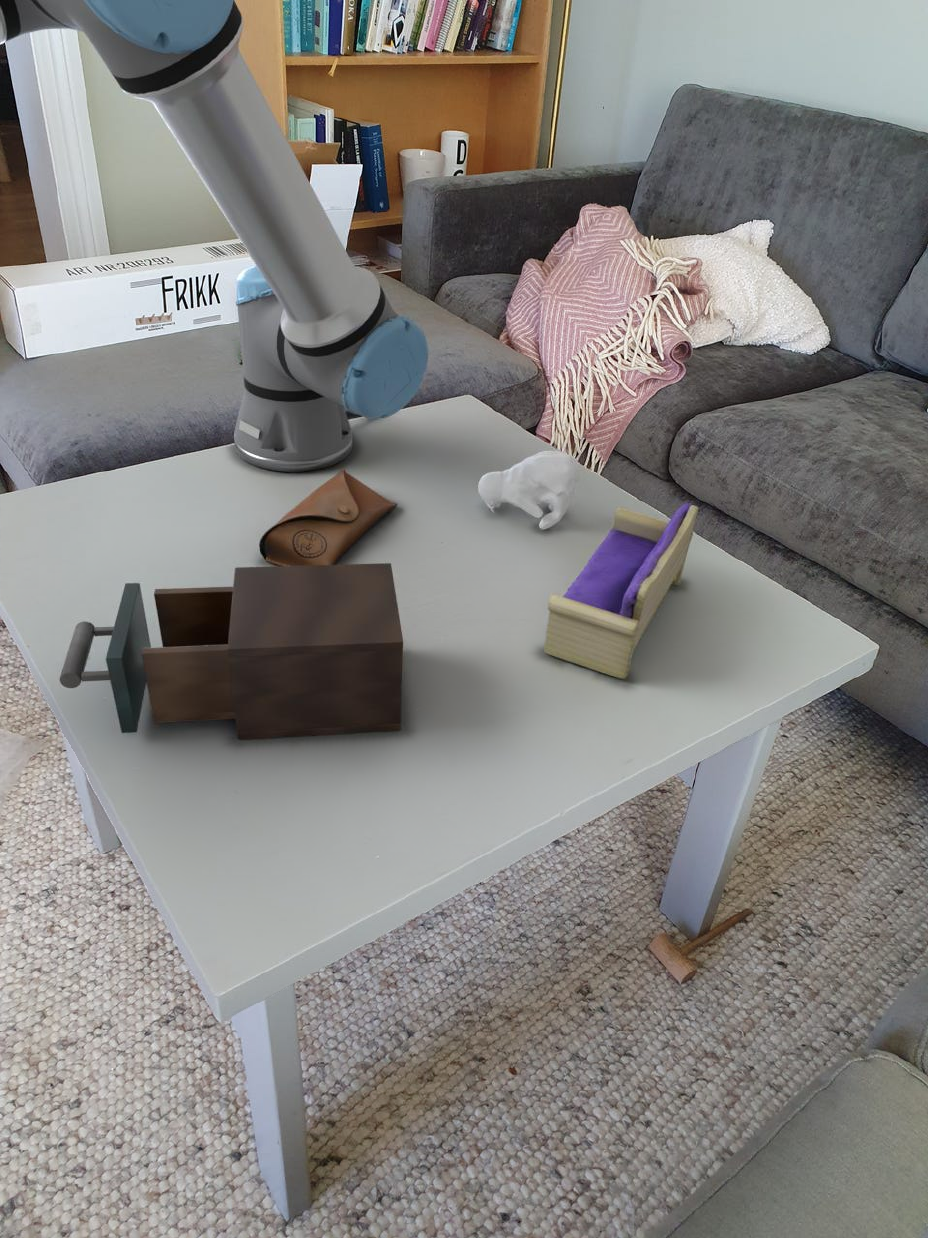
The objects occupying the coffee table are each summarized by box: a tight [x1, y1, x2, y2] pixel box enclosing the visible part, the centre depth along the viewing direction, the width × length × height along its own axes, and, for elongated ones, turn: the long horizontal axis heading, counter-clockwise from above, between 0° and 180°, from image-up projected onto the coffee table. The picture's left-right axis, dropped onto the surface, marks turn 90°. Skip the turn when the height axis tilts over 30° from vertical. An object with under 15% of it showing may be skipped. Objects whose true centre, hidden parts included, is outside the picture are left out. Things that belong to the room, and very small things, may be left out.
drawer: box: [58, 582, 236, 734], centre depth 77 cm, size 17×10×8 cm, turn 99°
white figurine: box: [477, 450, 580, 531], centre depth 108 cm, size 6×8×12 cm
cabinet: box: [228, 562, 404, 740], centre depth 79 cm, size 14×12×10 cm
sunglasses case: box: [258, 467, 398, 566], centre depth 103 cm, size 18×7×7 cm
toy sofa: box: [543, 503, 699, 680], centre depth 91 cm, size 21×9×10 cm, turn 154°
